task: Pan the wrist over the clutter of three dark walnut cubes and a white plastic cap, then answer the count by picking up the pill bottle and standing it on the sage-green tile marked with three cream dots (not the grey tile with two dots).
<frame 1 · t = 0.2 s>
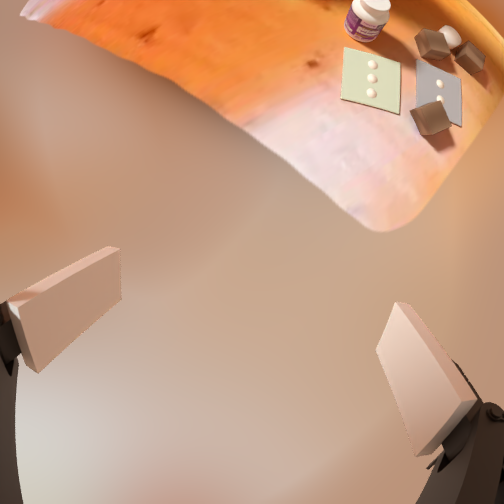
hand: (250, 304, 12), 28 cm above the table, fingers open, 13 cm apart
white cap: (444, 40, 26), on the table
cube a: (427, 49, 27), on the table
pill bottle: (360, 30, 29), on the table
pad three: (371, 79, 31), on the table
cube b: (468, 64, 25), point 2 cm above the table, tilted 90°
cube c: (424, 118, 31), on the table, tilted 6°, touching pad two
pad two: (439, 92, 29), on the table
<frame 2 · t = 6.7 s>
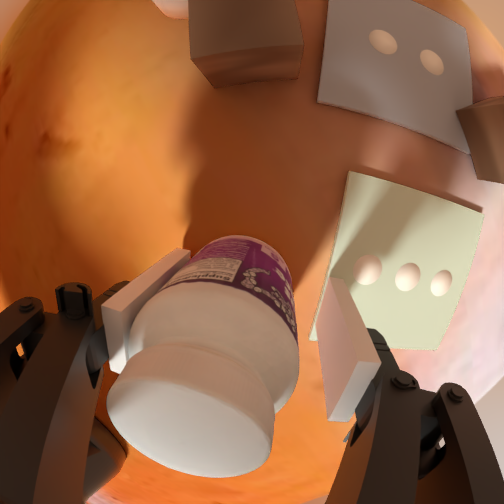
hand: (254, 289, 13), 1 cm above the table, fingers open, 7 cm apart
cube a: (251, 49, 11), on the table
pill bottle: (240, 281, 14), on the table, touching gripper
pad three: (405, 274, 13), on the table
cube c: (485, 136, 10), on the table, tilted 6°, touching pad two
pad two: (406, 54, 10), on the table
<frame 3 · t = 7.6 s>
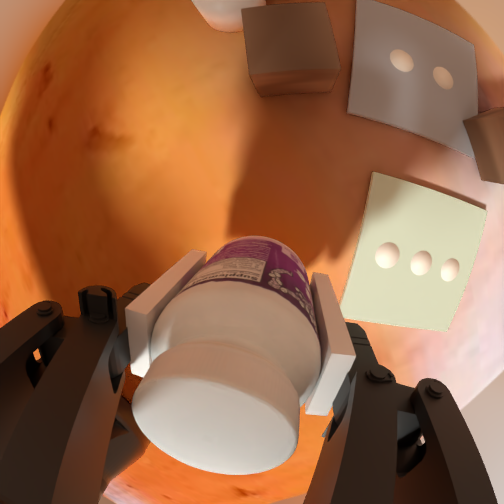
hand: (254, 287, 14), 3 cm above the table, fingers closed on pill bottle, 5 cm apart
white cap: (235, 10, 12), on the table
cube a: (291, 64, 13), on the table
pill bottle: (257, 281, 14), point 2 cm above the table, touching gripper
pad three: (419, 261, 15), on the table
cube c: (489, 142, 11), on the table, tilted 6°, touching pad two
pad two: (421, 70, 11), on the table
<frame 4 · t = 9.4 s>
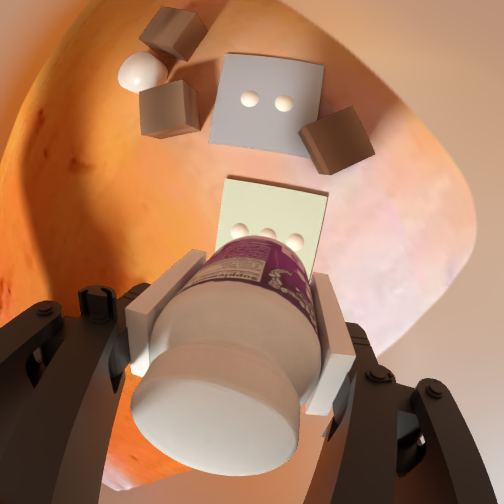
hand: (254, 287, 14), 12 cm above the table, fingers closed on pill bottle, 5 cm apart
white cap: (150, 78, 22), on the table
cube a: (178, 115, 23), on the table
pill bottle: (257, 281, 14), point 11 cm above the table, touching gripper
pad three: (267, 236, 25), on the table
cube b: (191, 38, 19), point 2 cm above the table, tilted 90°
cube c: (328, 143, 22), on the table, tilted 6°, touching pad two
pad two: (267, 101, 21), on the table
when the fingers open (2 cm above the table, at t = 11.3 s): pill bottle stays where it is, resting on pad three.
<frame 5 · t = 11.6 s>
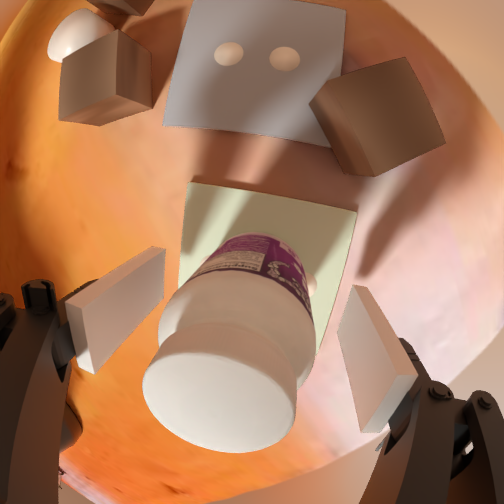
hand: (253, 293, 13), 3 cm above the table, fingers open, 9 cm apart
white cap: (93, 45, 12), on the table
cube a: (124, 89, 13), on the table
pill bottle: (257, 275, 15), resting on pad three
pad three: (258, 274, 15), on the table
cube c: (359, 124, 12), on the table, tilted 6°, touching pad two
pad two: (257, 58, 12), on the table
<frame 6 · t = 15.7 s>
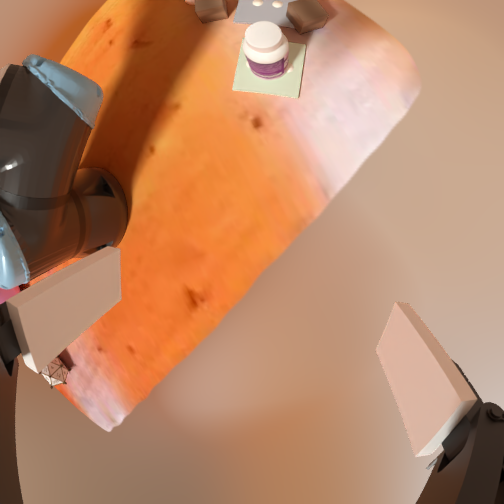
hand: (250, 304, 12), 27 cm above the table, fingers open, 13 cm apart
game die: (63, 362, 54), on the table
cube a: (214, 12, 29), on the table
pill bottle: (269, 65, 31), resting on pad three
teapot: (13, 292, 51), on the table
pad three: (269, 66, 31), on the table
cube c: (304, 21, 28), on the table, tilted 6°, touching pad two
pad two: (267, 4, 28), on the table
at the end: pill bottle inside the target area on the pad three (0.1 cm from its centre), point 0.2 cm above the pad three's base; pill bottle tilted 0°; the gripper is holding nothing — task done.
